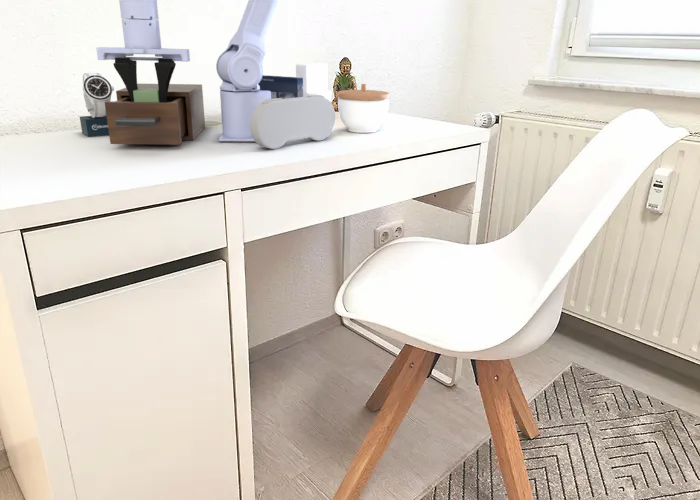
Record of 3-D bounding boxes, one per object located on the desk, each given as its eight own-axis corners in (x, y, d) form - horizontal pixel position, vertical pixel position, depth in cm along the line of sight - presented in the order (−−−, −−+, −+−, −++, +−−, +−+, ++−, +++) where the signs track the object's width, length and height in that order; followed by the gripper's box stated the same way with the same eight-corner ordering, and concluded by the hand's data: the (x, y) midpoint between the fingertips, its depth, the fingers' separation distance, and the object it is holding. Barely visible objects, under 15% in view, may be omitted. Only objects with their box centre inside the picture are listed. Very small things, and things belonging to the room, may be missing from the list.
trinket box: (328, 132, 112) (329, 84, 108) (348, 124, 121) (349, 80, 118) (378, 136, 108) (380, 87, 105) (394, 129, 117) (396, 83, 114)
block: (165, 112, 97) (162, 88, 95) (159, 115, 93) (157, 91, 91) (141, 111, 96) (139, 88, 95) (135, 115, 93) (132, 90, 91)
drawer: (175, 150, 88) (171, 106, 85) (101, 149, 87) (95, 105, 84) (194, 130, 104) (191, 94, 102) (132, 130, 103) (127, 93, 101)
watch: (90, 138, 100) (81, 75, 96) (79, 131, 106) (70, 72, 101) (122, 135, 103) (114, 74, 99) (110, 129, 109) (102, 71, 105)
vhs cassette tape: (228, 119, 124) (225, 73, 120) (236, 118, 127) (233, 73, 123) (297, 127, 117) (296, 78, 113) (304, 125, 119) (304, 77, 116)
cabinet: (193, 140, 100) (189, 92, 97) (122, 140, 99) (115, 90, 96) (205, 127, 114) (202, 84, 110) (142, 126, 112) (137, 83, 109)
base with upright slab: (317, 120, 126) (317, 65, 121) (285, 117, 130) (284, 63, 125) (337, 116, 133) (338, 64, 128) (307, 113, 137) (307, 62, 133)
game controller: (326, 136, 107) (327, 92, 104) (335, 138, 106) (336, 93, 103) (249, 150, 93) (247, 100, 90) (258, 152, 92) (256, 101, 89)
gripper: (85, 17, 85) (98, 107, 90) (181, 20, 86) (188, 108, 91) (100, 18, 91) (111, 102, 96) (189, 21, 93) (195, 103, 98)
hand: (149, 105), depth 94 cm, fingers closed on block, 4 cm apart
